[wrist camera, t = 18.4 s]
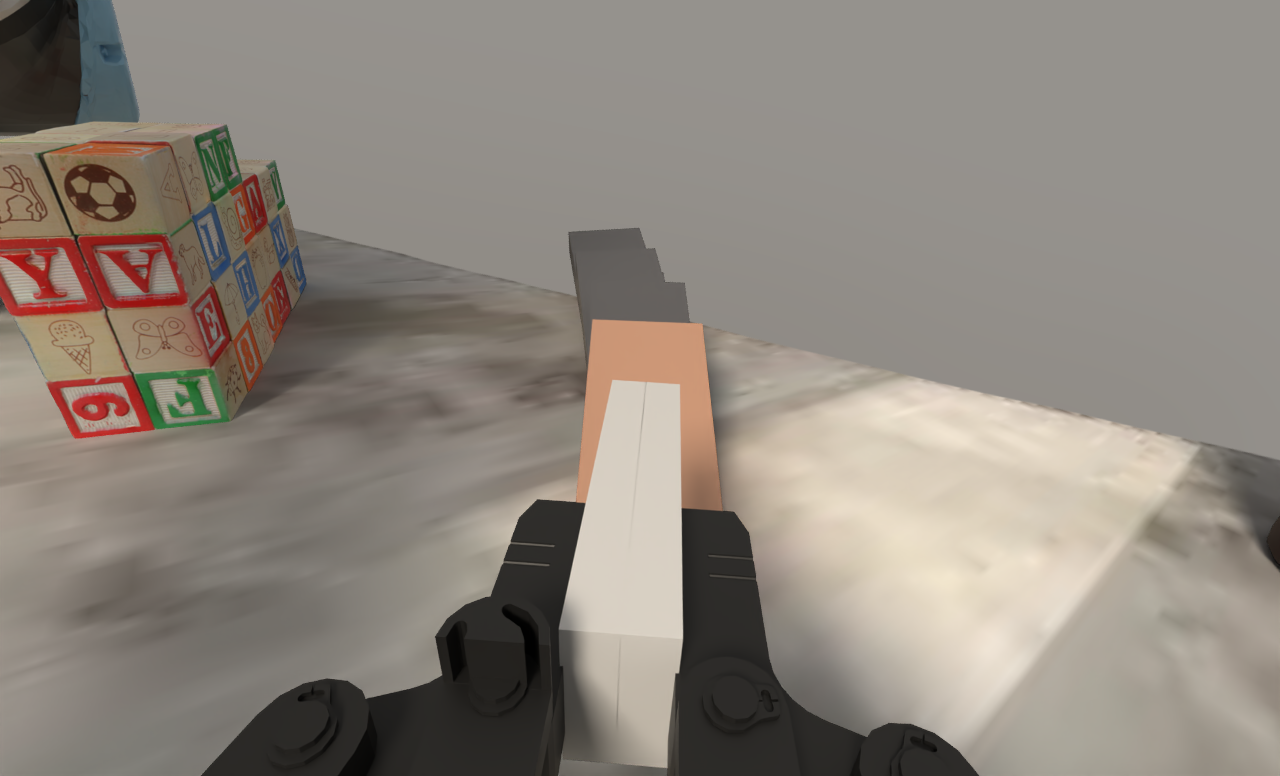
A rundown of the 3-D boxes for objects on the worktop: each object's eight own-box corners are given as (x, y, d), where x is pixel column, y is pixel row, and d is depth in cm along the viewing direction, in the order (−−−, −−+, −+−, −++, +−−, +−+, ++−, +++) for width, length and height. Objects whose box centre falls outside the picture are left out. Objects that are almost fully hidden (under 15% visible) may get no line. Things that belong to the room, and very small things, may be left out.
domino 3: (704, 439, 25) (684, 282, 32) (583, 437, 24) (591, 280, 32) (699, 462, 26) (681, 307, 33) (584, 461, 26) (592, 305, 33)
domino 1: (671, 327, 35) (639, 227, 42) (586, 335, 34) (568, 231, 41) (668, 349, 36) (638, 248, 43) (587, 356, 35) (569, 253, 42)
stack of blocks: (216, 289, 43) (158, 108, 37) (308, 284, 45) (267, 112, 39) (72, 443, 25) (-81, 145, 20) (234, 425, 27) (139, 147, 21)
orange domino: (725, 533, 20) (702, 323, 27) (573, 529, 19) (592, 319, 27) (717, 558, 21) (697, 351, 28) (575, 554, 21) (592, 347, 28)
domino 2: (688, 369, 30) (654, 248, 37) (589, 376, 29) (575, 251, 37) (684, 392, 31) (653, 271, 39) (590, 399, 31) (576, 274, 38)
